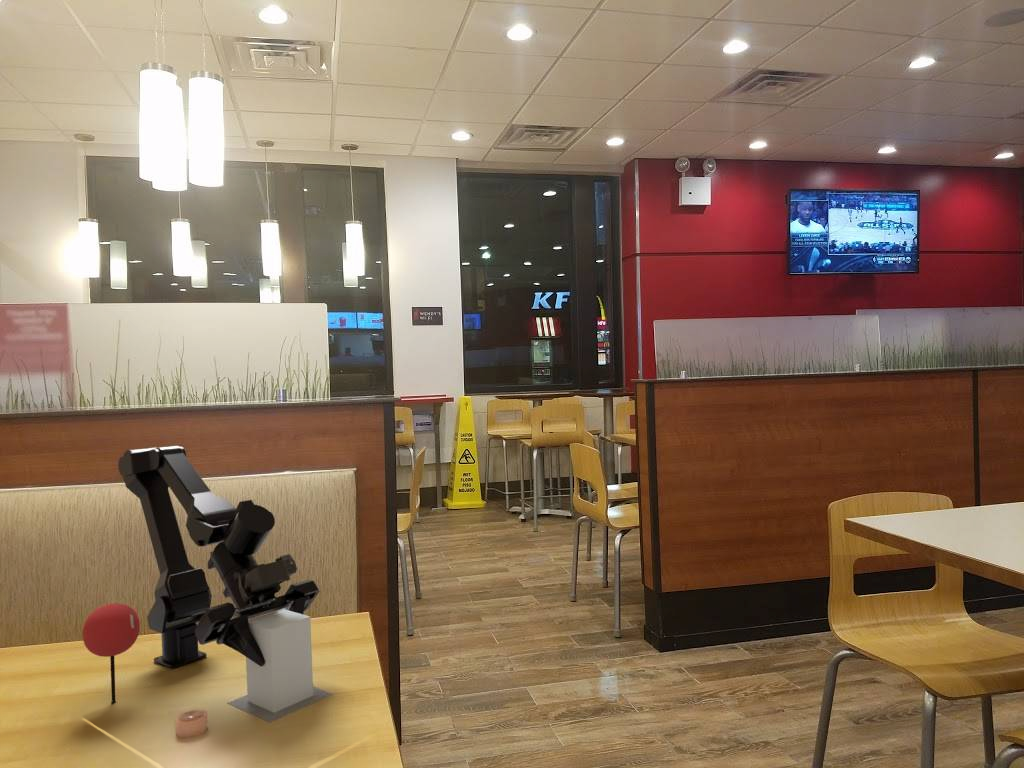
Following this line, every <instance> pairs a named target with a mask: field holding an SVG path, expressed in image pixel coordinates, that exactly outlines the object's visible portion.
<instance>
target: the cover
mask: <svg viewBox="0 0 1024 768" xmlns="http://www.w3.org/2000/svg"><path fill="white" fill-rule="evenodd" d="M248 622H249V629H250V631H251V633H252V635H253V637H254V638H255V640H256V642H257V644H258V646H259V648H260V650H261V652H262V654H263V657H264V659H265V664H264V665H263V666H259V665H258V664H256V663H255V662H253V661H252V660H250V659H249V658H247V657H246V656H245V665H246V667H245V668H246V669H245V670H246V688H247V689H246V692H247V693H246V695H247V696H248V702H251V703H253V704H255V705H258V706H260V707H262V708H264V709H267V710H269V711H271V712H274V713H275V712H277V711H279V710H282V709H284V708H286V707H288V706H291V705H293V704H295V703H298V702H300V701H302V700H304V699H307V698H309V697H311V696H313V686H314V681H313V679H314V678H313V655H312V651H313V650H312V648H313V647H312V627H311V625H312V623H311V616H309V615H306V614H304V613H303V614H299V613H296V612H292V611H289V610H285V609H283V610H280V609H279V610H276V611H273V612H270V613H267V614H263V615H260V616H257V617H254V618H251V619H248Z"/></svg>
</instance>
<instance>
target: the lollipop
mask: <svg viewBox="0 0 1024 768" xmlns="http://www.w3.org/2000/svg"><path fill="white" fill-rule="evenodd" d="M138 615H139V614H137V612H136V611H135V609H134V608H132V607H131V606H130V605H127V604H125V603H117V602H115V603H108V604H104V605H102V606H100V607H97V608H95V609H94V610H92V612H91V613H90V614H89V615H88V617H86V619H85V621H84V624H83V627H82V642H83V644H84V646H85V647H86V649H87V650H88V651H89V652H90V653H91V654H92V655H95V656H98V657H104V658H105V657H108V658H110V659H109V661H110V684H111V685H110V688H111V690H110V691H111V692H110V693H111V702H110V703H111V704H115V703H117V701H116V671H115V665H116V664H115V656H118V655H120V654H123V653H125V652H126V651H129V649H130V648H132V647H133V645H134V644H135V643H136V641H137V639H138V637H139V634H140V627H141V626H140V619H139V616H138Z"/></svg>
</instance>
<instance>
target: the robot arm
mask: <svg viewBox="0 0 1024 768" xmlns="http://www.w3.org/2000/svg"><path fill="white" fill-rule="evenodd" d="M117 467H118V473H119V474H120V476H121V477H122V479H123V482H124V484H125V487H126V488H127V489H128V490H129V492H131V493H132V494H133V495H135V496H136V497H137V498H138V499H139V501H140V505H141V509H142V513H143V516H144V520H145V523H146V528H147V530H148V534H149V538H150V541H151V545H152V548H153V553H154V556H155V560H156V565H157V568H158V571H159V572H158V573H159V577H158V580H157V582H156V586H155V588H154V592H153V593H154V598H155V601H154V604H152V607H151V608H150V610H149V612H148V615H146V616H147V617H146V620H147V624H148V629H149V630H151V631H153V632H155V633H158V634H160V635H161V655H158V656H157V657H156V656H155V657H154V658H153V662H155V663H157V664H160V665H163V666H165V667H167V668H170V669H174V668H178V667H181V666H184V665H186V664H188V663H191V662H195V661H198V660H201V659H203V658H206V657H207V654H208V653H207V652H204V651H201V650H199V645H201V646H202V645H206V644H210V643H212V642H215V643H216V644H217V645H225V646H227V647H228V648H230V649H232V650H234V651H236V652H238V653H239V654H241V655H243V656H244V657H245V658H246V657H247V658H249V659H250V660H252V661H253V662H255V663H256V664H258V665H259V666H263V665H264V664H265V659H264V657H263V654H262V652H261V650H260V648H259V646H258V644H257V642H256V640H255V638H254V637H253V635H252V633H251V631H250V629H249V622H248V620H251V619H254V618H257V617H260V616H263V615H267V614H270V613H273V612H276V611H279V610H283V609H285V610H289V611H292V612H296V613H299V614H303V615H304V612H306V611H307V610H308V609H309V607H311V604H313V602H314V601H315V599H316V598H317V597H318V594H319V593H320V592H321V590H320V588H319V586H318V584H317V583H316V582H315V581H314V580H312V579H306V580H302V581H299V582H296V583H292V584H290V586H289V587H288V588H287V590H286V592H285V593H284V594H283V595H280V596H276V594H277V593H279V592H280V591H281V588H282V587H281V585H280V584H282V583H284V582H289V581H290V580H291V576H292V575H294V574H297V571H298V568H297V563H296V561H295V559H294V558H293V557H292V555H291V554H290V553H288V554H283V555H280V556H279V557H278V558H276V559H275V561H273V562H270V563H269V562H268V563H261V564H259V563H258V562H257V559H256V558H255V556H254V555H255V554H256V553H258V552H259V551H260V549H261V548H262V546H263V545H264V543H265V542H266V540H267V538H268V536H269V535H270V534H271V531H272V529H273V528H274V526H275V523H276V519H275V516H274V514H273V513H272V511H269V510H268V509H267V508H265V507H264V506H261V505H259V504H255V503H254V502H253V500H252V499H247V500H241V501H239V502H238V504H237V505H236V507H235V506H234V505H233V504H232V503H231V502H229V500H227V499H226V498H223V497H221V496H218V495H216V494H214V493H213V491H212V490H211V489H210V488H209V487H208V485H207V484H206V483H205V481H204V480H203V478H202V477H201V476H200V474H199V472H197V470H196V469H195V467H194V466H193V465H192V463H191V461H190V460H189V459H188V457H187V452H186V450H185V448H184V447H183V446H179V445H169V446H157V447H145V448H137V449H136V448H135V449H127V450H126V451H124V453H123V456H121V457H119V459H118V463H117ZM170 491H171V492H172V493H173V495H174V496H175V498H176V499H177V500H178V502H179V503H180V505H181V506H182V508H183V509H184V511H185V513H186V515H187V517H186V522H185V528H186V529H187V531H188V535H189V537H190V539H191V540H192V541H193V543H194V544H195V545H196V546H197V547H207V546H212V545H215V546H214V548H213V550H212V551H210V552H209V554H210V555H209V559H208V560H207V569H209V570H212V569H216V572H217V573H218V576H219V577H220V580H221V581H222V582H223V585H224V587H225V588H224V590H223V592H222V594H223V596H224V598H225V599H226V598H230V599H231V601H232V603H231V602H225V603H221V604H218V605H214V606H211V604H212V597H213V596H212V593H211V590H210V585H209V584H208V582H207V577H206V572H205V571H204V569H202V568H201V567H199V568H195V567H194V566H193V565H192V564H190V562H189V557H188V555H187V551H186V547H185V544H184V540H183V538H182V537H183V536H182V533H181V530H180V526H179V522H178V520H177V516H176V512H175V508H174V505H173V501H172V497H171V495H170ZM216 544H217V545H216Z"/></svg>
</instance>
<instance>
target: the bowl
mask: <svg viewBox="0 0 1024 768" xmlns="http://www.w3.org/2000/svg"><path fill="white" fill-rule="evenodd" d="M208 723H209V722H208V712H207V710H204V709H191V710H188V711H184V712H182V713H180V714H178V715H177V716H176V717H175V735H176V737H177V738H180V739H189V738H193V737H197V736H199V735H202V734H203V733H205V732H207V730H208V728H209V727H208Z"/></svg>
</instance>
